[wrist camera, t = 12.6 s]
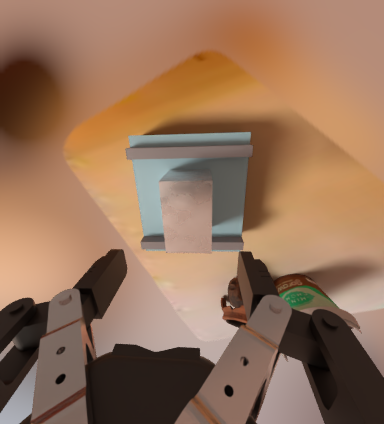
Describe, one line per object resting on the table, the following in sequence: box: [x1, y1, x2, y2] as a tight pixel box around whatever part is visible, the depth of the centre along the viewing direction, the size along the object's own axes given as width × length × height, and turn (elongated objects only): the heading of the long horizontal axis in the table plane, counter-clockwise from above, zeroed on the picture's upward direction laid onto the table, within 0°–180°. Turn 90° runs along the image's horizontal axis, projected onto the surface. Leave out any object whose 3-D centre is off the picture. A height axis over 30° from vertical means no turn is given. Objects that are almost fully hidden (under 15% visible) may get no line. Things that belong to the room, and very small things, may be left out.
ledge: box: [125, 132, 253, 251], centre depth 25 cm, size 14×16×6 cm
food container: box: [273, 274, 361, 361], centre depth 30 cm, size 12×6×10 cm, turn 132°
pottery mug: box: [221, 277, 247, 328], centre depth 34 cm, size 12×10×8 cm
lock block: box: [159, 169, 213, 253], centre depth 21 cm, size 5×8×6 cm, turn 2°
